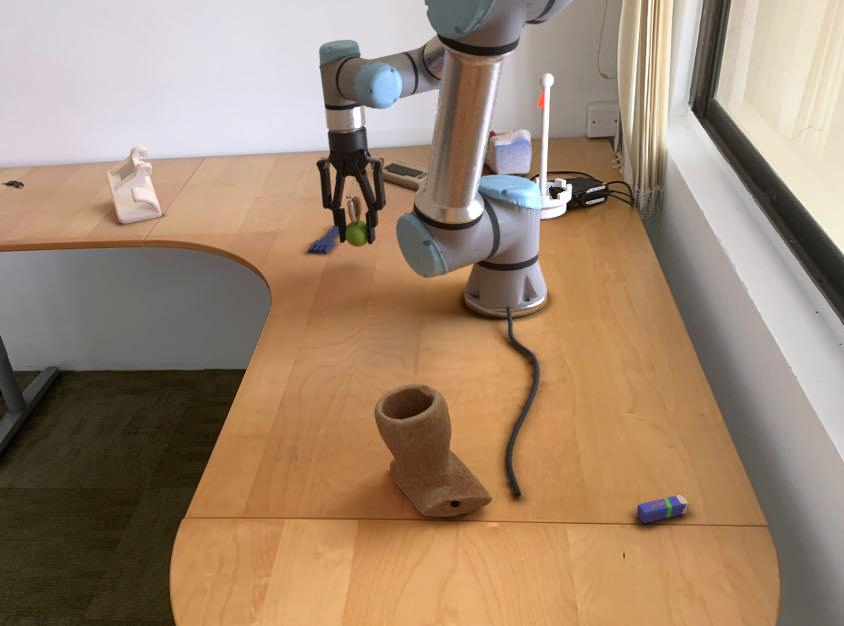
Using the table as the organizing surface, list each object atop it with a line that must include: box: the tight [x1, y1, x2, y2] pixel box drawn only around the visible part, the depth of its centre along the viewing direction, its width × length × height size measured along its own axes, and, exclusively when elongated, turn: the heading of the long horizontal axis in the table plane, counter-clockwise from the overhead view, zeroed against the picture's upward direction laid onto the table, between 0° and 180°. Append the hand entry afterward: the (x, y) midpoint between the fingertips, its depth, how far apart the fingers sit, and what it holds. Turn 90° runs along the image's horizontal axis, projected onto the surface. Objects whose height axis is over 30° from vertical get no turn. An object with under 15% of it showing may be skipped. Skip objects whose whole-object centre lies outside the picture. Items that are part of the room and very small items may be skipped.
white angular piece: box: [105, 145, 163, 225], centre depth 215 cm, size 20×11×13 cm, turn 19°
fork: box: [307, 224, 339, 255], centre depth 190 cm, size 15×4×1 cm, turn 161°
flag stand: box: [533, 72, 573, 220], centre depth 185 cm, size 13×13×30 cm
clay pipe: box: [373, 383, 493, 518], centre depth 111 cm, size 15×12×15 cm
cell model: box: [483, 129, 533, 175], centre depth 216 cm, size 13×11×20 cm
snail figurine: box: [345, 195, 368, 248], centre depth 172 cm, size 5×6×12 cm
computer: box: [382, 160, 428, 191], centre depth 216 cm, size 16×8×3 cm, turn 40°
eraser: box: [636, 494, 689, 524], centre depth 107 cm, size 2×6×2 cm, turn 103°
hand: (357, 240), depth 175 cm, fingers closed on snail figurine, 5 cm apart
